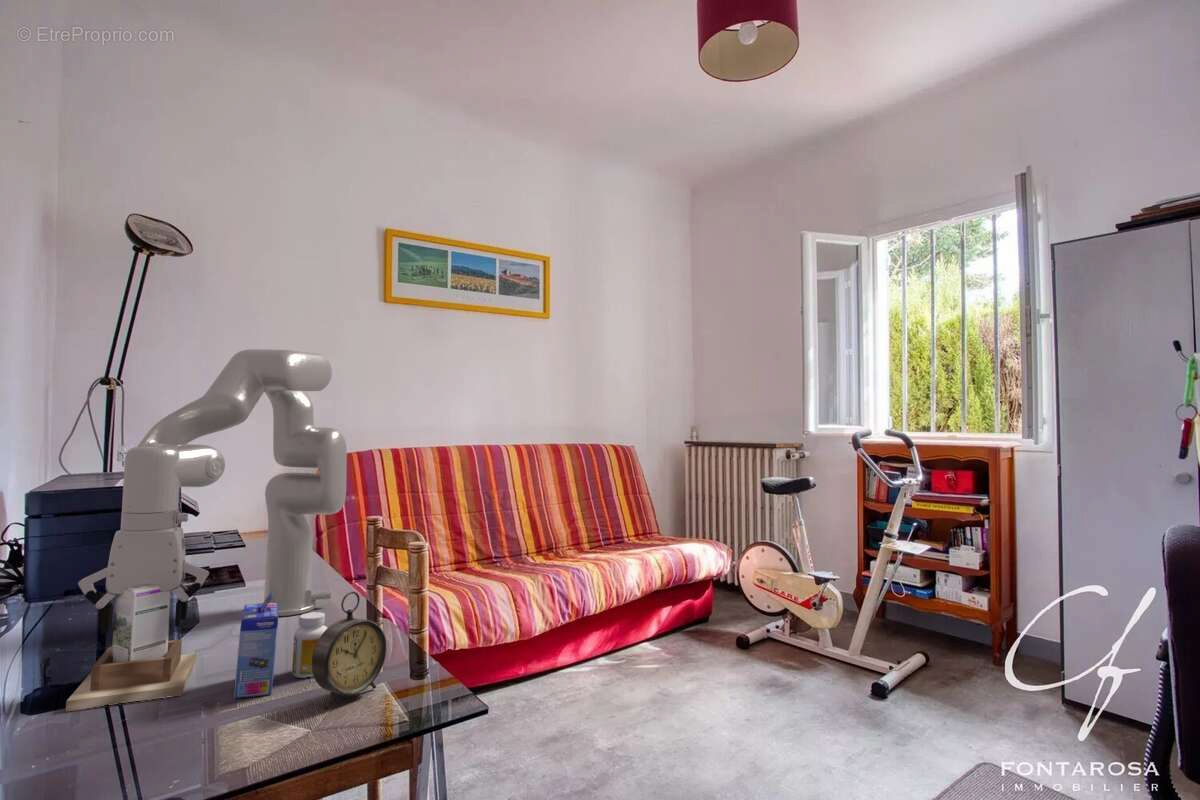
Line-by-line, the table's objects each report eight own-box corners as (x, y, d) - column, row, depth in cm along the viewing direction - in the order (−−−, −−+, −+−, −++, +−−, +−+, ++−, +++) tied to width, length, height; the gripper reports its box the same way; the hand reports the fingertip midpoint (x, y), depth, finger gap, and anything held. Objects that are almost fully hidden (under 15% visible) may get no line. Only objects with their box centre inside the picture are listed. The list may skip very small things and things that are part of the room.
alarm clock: (325, 714, 91) (331, 601, 92) (303, 705, 93) (309, 595, 95) (386, 689, 100) (391, 587, 101) (364, 682, 103) (369, 582, 104)
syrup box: (168, 672, 101) (174, 582, 102) (126, 684, 96) (133, 589, 97) (148, 665, 104) (154, 577, 105) (107, 677, 98) (114, 584, 99)
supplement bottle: (333, 669, 108) (336, 612, 108) (309, 680, 103) (312, 621, 103) (309, 665, 110) (312, 609, 110) (284, 676, 104) (287, 617, 105)
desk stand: (196, 661, 110) (197, 633, 110) (181, 696, 96) (183, 662, 96) (97, 673, 104) (99, 642, 104) (65, 711, 89) (68, 676, 90)
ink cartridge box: (274, 695, 97) (279, 600, 98) (233, 701, 94) (239, 604, 95) (274, 673, 106) (279, 587, 107) (237, 678, 103) (242, 590, 104)
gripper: (214, 516, 109) (208, 615, 108) (90, 520, 101) (83, 627, 100) (208, 522, 102) (203, 628, 101) (75, 527, 94) (68, 642, 93)
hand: (143, 627), depth 101 cm, fingers open, 9 cm apart
